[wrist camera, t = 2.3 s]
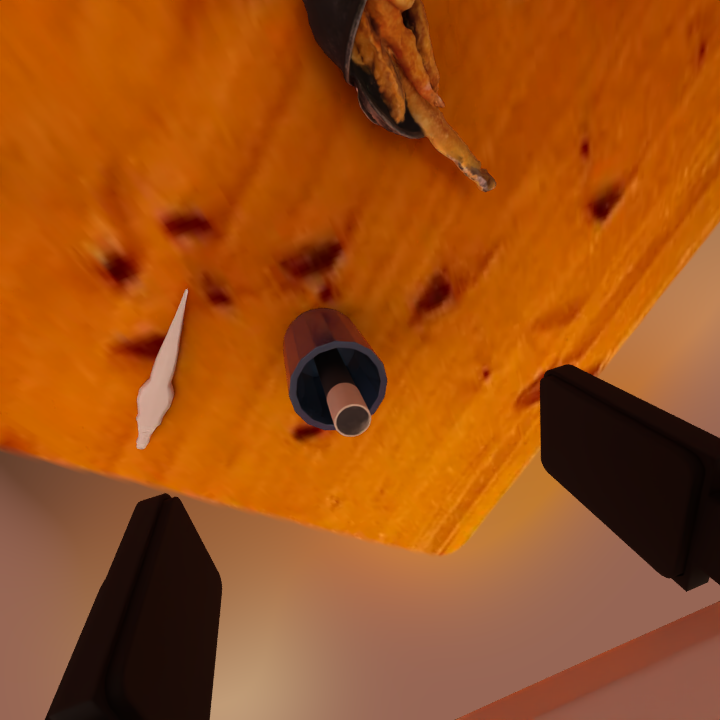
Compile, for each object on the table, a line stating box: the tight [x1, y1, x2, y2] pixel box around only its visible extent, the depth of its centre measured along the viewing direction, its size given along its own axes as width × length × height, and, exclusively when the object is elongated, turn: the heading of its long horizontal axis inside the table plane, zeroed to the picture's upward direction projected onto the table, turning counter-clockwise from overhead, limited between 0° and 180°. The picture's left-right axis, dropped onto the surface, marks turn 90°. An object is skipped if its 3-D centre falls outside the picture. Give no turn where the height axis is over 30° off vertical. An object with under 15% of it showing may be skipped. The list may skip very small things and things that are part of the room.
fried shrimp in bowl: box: [303, 0, 496, 192], centre depth 25 cm, size 9×11×18 cm
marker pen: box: [314, 348, 371, 437], centre depth 29 cm, size 2×2×13 cm
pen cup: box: [283, 308, 387, 430], centre depth 31 cm, size 7×7×9 cm
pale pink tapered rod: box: [136, 289, 188, 449], centre depth 32 cm, size 15×3×2 cm, turn 157°
